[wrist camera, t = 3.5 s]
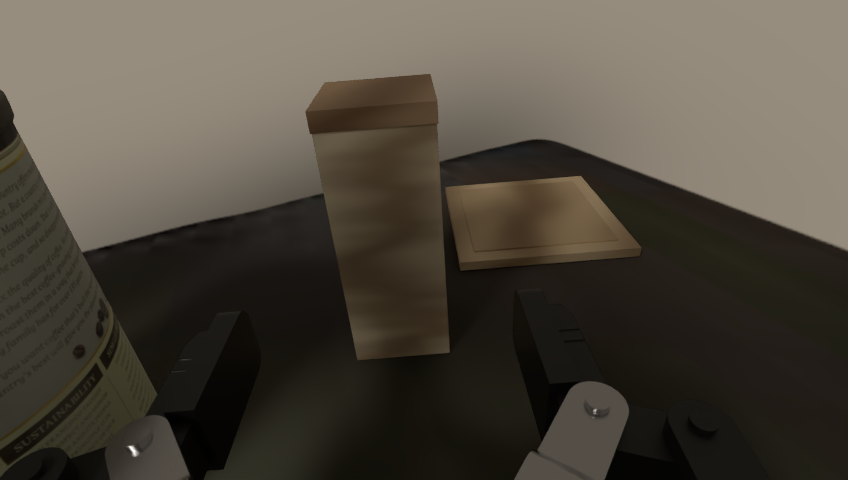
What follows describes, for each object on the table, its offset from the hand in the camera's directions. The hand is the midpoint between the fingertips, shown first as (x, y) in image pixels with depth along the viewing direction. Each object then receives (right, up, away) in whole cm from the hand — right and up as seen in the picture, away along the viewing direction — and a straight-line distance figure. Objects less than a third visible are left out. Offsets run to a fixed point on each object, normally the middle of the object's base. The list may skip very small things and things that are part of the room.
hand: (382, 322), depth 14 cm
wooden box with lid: (0, -2, +10) cm, 11 cm away
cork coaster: (+9, +4, +19) cm, 21 cm away
